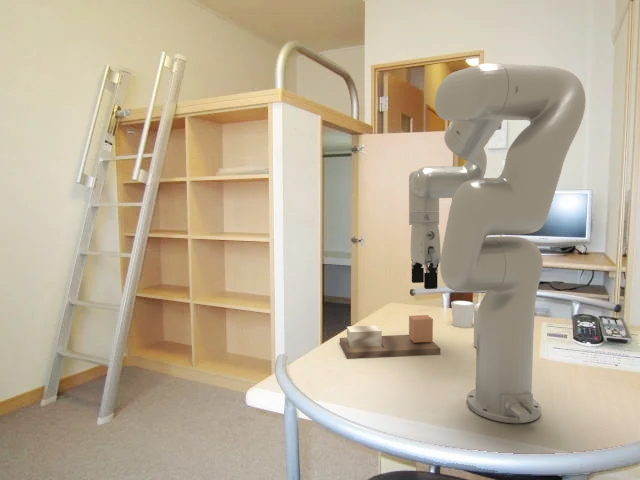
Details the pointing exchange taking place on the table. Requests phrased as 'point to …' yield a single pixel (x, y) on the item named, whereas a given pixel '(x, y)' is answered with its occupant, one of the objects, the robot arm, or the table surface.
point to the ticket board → (382, 344)
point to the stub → (421, 328)
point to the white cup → (462, 313)
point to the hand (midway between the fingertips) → (424, 285)
